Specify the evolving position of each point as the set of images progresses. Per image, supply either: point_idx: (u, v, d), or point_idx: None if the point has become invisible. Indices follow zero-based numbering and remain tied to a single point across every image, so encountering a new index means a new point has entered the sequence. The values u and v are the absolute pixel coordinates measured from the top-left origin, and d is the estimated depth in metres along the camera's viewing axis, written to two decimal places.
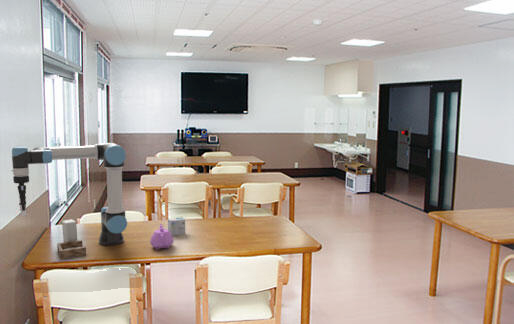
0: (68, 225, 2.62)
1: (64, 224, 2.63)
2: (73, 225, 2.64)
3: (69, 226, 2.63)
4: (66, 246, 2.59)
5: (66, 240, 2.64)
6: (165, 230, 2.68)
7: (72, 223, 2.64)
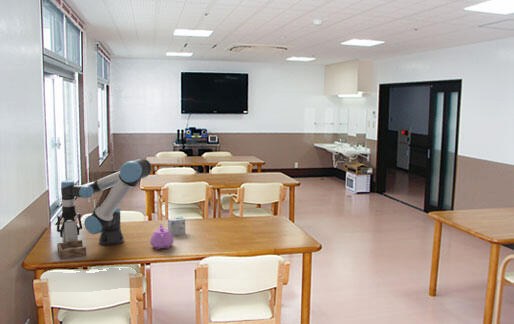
0: (68, 225, 2.62)
1: (64, 224, 2.63)
2: (73, 225, 2.64)
3: (69, 226, 2.63)
4: (66, 246, 2.59)
5: (66, 240, 2.64)
6: (165, 230, 2.68)
7: (72, 223, 2.64)
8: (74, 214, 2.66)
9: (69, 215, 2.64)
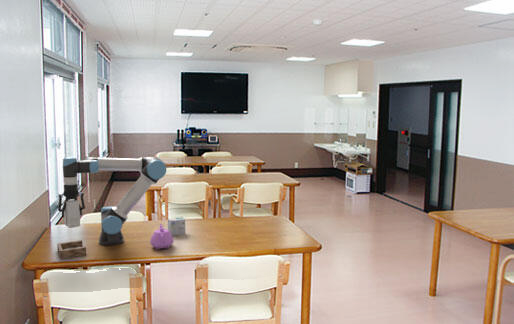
0: (70, 204, 2.47)
1: (66, 203, 2.49)
2: (76, 205, 2.50)
3: (71, 205, 2.48)
4: (66, 246, 2.59)
5: (68, 220, 2.49)
6: (165, 230, 2.68)
7: (74, 202, 2.49)
8: (76, 193, 2.51)
9: (71, 194, 2.50)
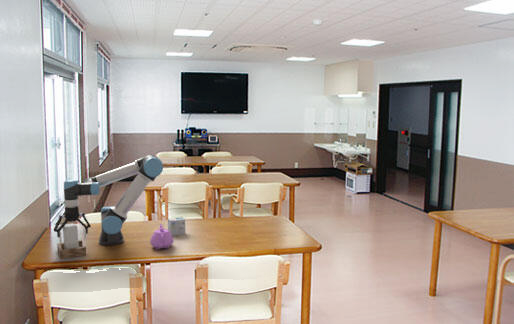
0: (69, 230, 2.49)
1: (64, 229, 2.51)
2: (74, 230, 2.51)
3: (70, 231, 2.50)
4: None
5: (66, 245, 2.51)
6: (165, 230, 2.68)
7: (73, 228, 2.51)
8: (77, 215, 2.53)
9: (72, 217, 2.52)
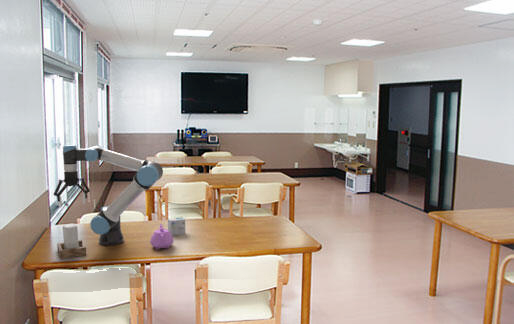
0: (69, 230, 2.49)
1: (64, 229, 2.51)
2: (74, 230, 2.51)
3: (70, 231, 2.50)
4: None
5: (66, 245, 2.51)
6: (165, 230, 2.68)
7: (73, 228, 2.51)
8: (77, 180, 2.58)
9: (72, 181, 2.56)
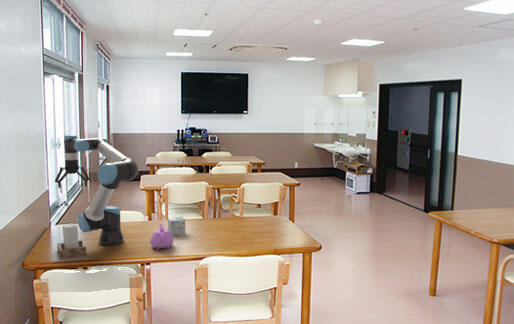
0: (69, 230, 2.49)
1: (64, 228, 2.51)
2: (74, 230, 2.51)
3: (70, 231, 2.50)
4: None
5: (66, 245, 2.51)
6: (165, 230, 2.68)
7: (73, 228, 2.51)
8: (77, 168, 2.73)
9: (72, 169, 2.71)
